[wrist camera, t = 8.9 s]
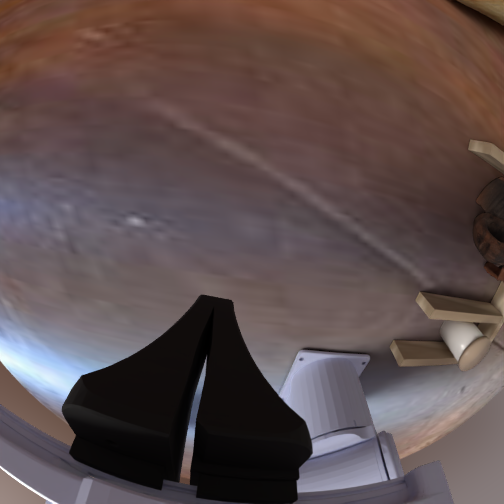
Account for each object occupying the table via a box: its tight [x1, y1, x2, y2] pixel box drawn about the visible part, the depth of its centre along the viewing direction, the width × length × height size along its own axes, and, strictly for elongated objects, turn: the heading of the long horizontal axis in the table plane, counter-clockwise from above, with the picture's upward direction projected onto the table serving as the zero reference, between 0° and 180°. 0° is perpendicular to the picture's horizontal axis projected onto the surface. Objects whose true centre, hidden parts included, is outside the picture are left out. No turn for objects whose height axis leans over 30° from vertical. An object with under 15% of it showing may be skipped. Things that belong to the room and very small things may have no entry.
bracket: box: [390, 140, 504, 367], centre depth 20 cm, size 22×14×3 cm, turn 169°
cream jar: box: [440, 320, 491, 371], centre depth 22 cm, size 4×4×6 cm
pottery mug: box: [473, 177, 504, 283], centre depth 17 cm, size 12×10×8 cm
